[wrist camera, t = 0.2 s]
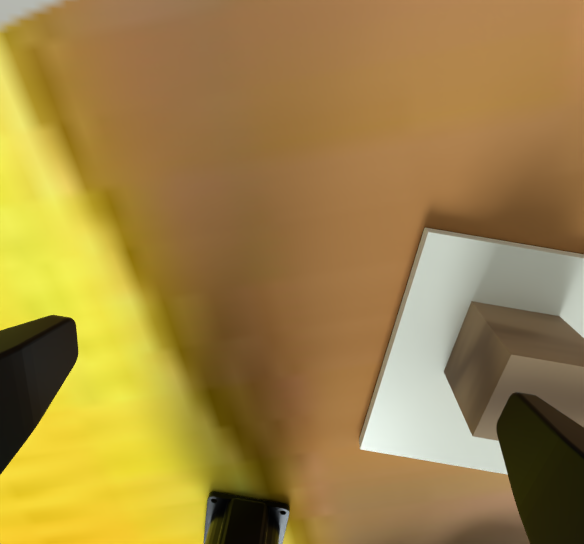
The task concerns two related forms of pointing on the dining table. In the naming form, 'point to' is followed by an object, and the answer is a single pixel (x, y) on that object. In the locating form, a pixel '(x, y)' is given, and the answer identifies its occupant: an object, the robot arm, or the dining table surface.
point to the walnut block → (514, 364)
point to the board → (444, 331)
